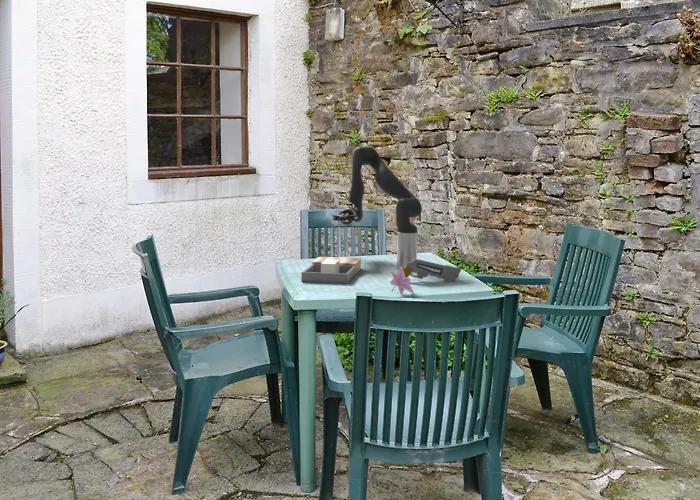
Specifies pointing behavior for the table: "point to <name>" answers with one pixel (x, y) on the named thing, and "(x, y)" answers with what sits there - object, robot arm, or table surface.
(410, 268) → the gun
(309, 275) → the box
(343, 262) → the tan flat block
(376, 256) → the table surface
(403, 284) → the lily
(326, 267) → the cream block
